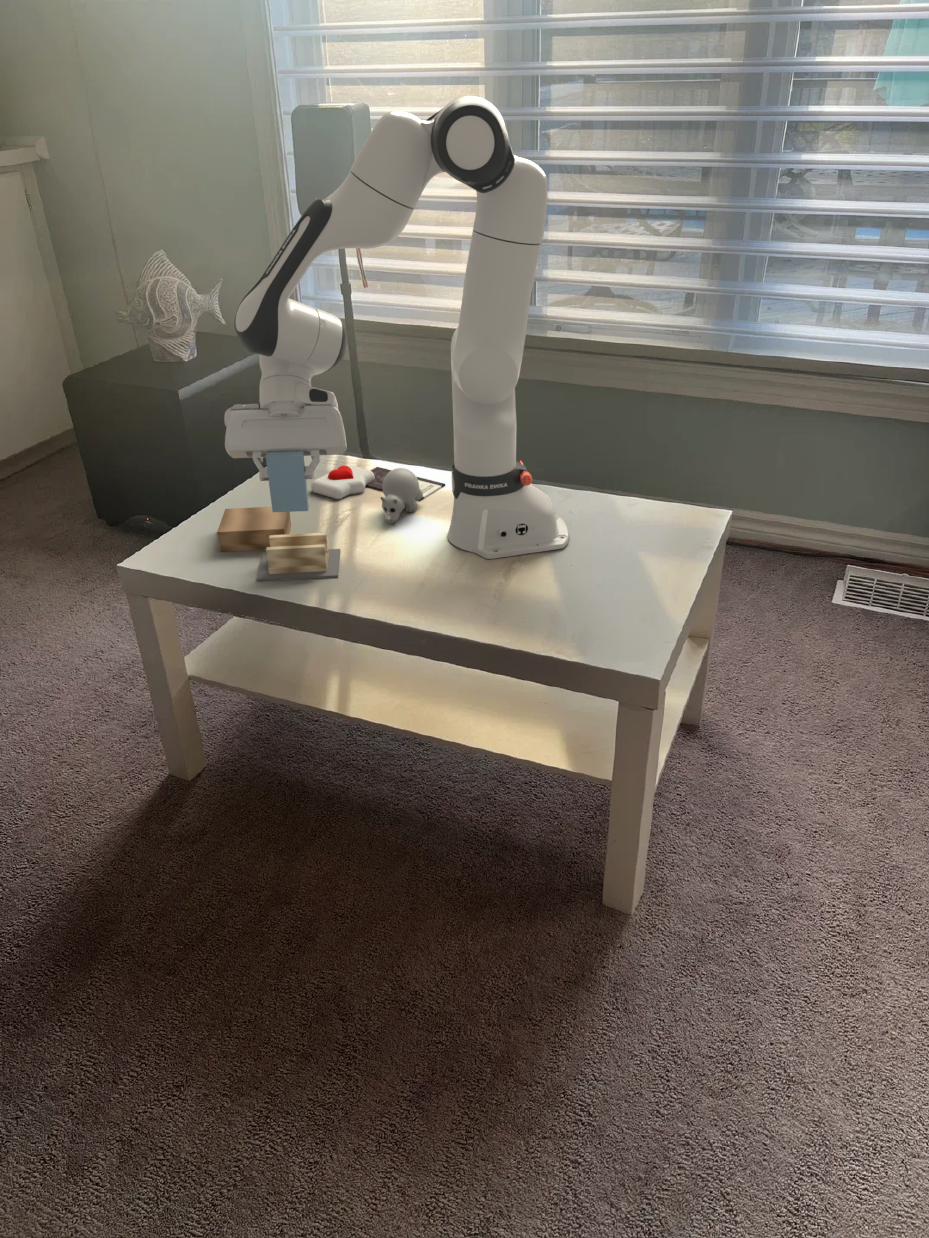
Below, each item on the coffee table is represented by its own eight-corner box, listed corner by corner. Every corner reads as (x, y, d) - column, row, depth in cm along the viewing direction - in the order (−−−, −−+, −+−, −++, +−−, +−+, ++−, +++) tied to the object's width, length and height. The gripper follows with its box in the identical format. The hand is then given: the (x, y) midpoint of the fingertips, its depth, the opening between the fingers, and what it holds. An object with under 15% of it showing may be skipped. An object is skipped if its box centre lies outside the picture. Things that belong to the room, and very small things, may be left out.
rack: (328, 555, 166) (326, 531, 164) (326, 573, 161) (324, 548, 158) (273, 558, 166) (269, 534, 163) (269, 576, 160) (265, 551, 157)
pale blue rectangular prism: (308, 506, 158) (303, 451, 153) (308, 511, 157) (302, 455, 151) (273, 507, 158) (266, 452, 153) (272, 512, 156) (265, 457, 151)
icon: (343, 485, 183) (306, 474, 188) (345, 504, 186) (309, 493, 191) (382, 465, 192) (346, 455, 197) (383, 484, 194) (348, 474, 199)
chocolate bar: (377, 466, 200) (445, 483, 192) (377, 470, 201) (445, 488, 192) (351, 481, 194) (420, 499, 185) (351, 485, 194) (420, 503, 186)
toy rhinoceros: (374, 532, 180) (363, 502, 173) (396, 489, 186) (386, 458, 180) (407, 537, 178) (398, 506, 171) (429, 493, 184) (420, 462, 177)
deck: (291, 524, 177) (288, 505, 175) (286, 548, 169) (283, 528, 167) (228, 527, 177) (225, 508, 175) (220, 551, 168) (217, 532, 166)
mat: (340, 550, 168) (340, 548, 168) (337, 577, 159) (337, 575, 159) (263, 554, 167) (263, 552, 167) (256, 581, 159) (256, 579, 158)
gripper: (220, 396, 153) (220, 473, 150) (343, 392, 154) (345, 469, 151) (228, 413, 159) (228, 488, 156) (346, 409, 161) (348, 483, 157)
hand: (287, 478), depth 154 cm, fingers closed on pale blue rectangular prism, 6 cm apart
